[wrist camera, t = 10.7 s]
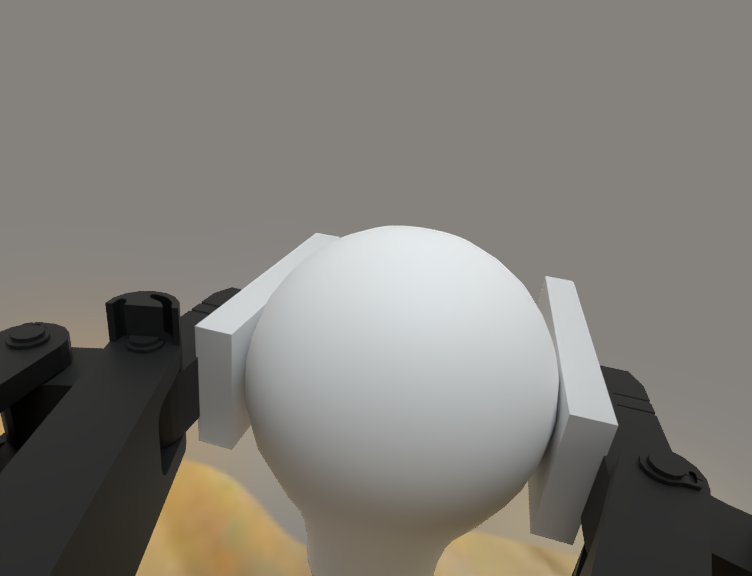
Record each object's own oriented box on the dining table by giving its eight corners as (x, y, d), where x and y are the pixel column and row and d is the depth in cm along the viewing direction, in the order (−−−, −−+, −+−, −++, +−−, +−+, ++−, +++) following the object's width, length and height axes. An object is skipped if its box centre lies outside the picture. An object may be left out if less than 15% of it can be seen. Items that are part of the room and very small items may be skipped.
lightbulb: (189, 705, 11) (163, 248, 7) (301, 505, 17) (326, 177, 12) (455, 827, 10) (633, 356, 6) (484, 567, 15) (585, 224, 11)
